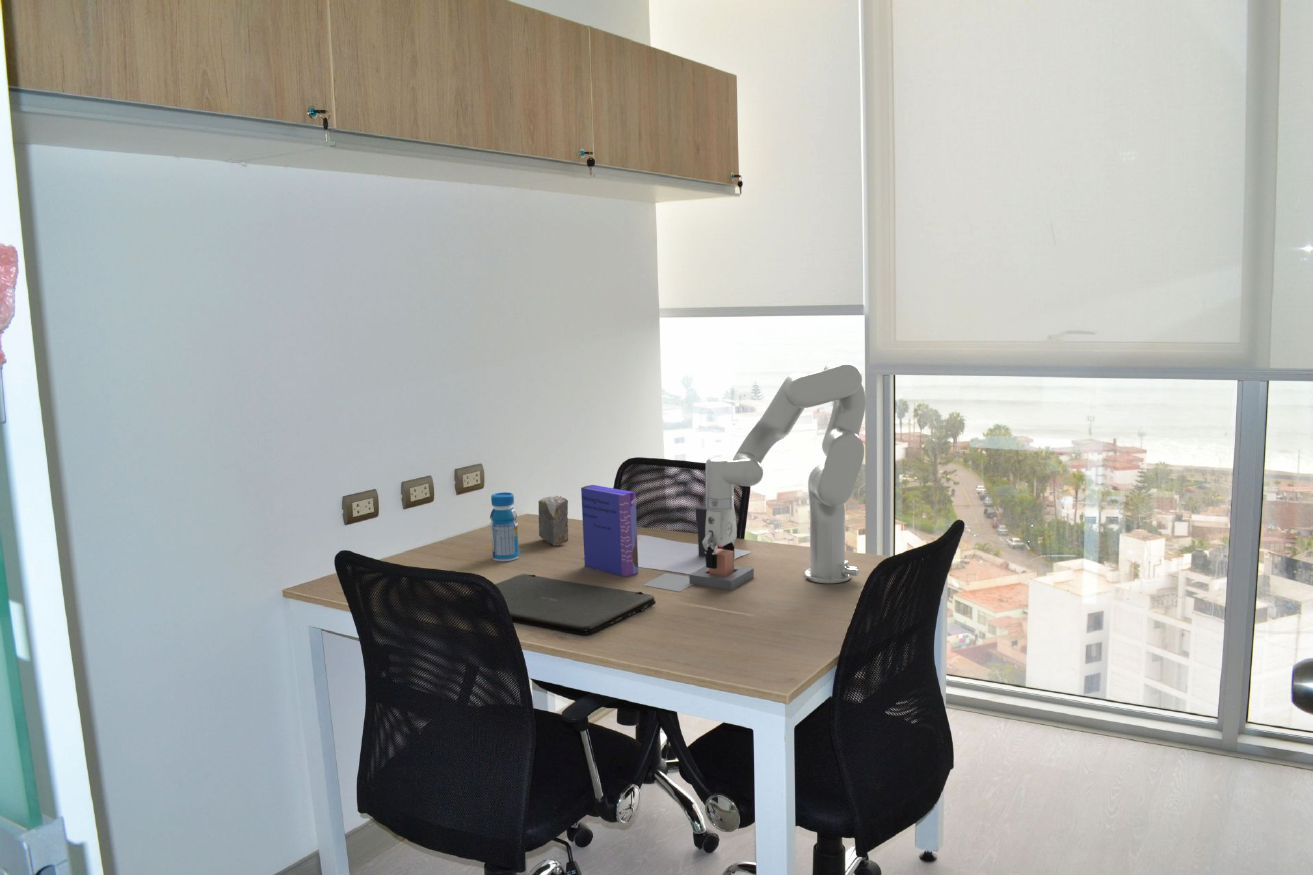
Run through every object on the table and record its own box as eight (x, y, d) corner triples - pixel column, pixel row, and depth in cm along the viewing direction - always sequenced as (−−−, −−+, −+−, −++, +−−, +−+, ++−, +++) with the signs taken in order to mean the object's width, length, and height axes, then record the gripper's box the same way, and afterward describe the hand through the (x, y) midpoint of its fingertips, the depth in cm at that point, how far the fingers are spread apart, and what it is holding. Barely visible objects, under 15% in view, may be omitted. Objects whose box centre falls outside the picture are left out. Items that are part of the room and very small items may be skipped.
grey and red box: (708, 558, 291) (707, 509, 289) (696, 556, 294) (695, 508, 291) (728, 549, 300) (727, 502, 297) (716, 547, 302) (715, 500, 300)
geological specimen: (538, 540, 318) (536, 495, 315) (555, 537, 321) (553, 492, 319) (553, 547, 309) (551, 501, 306) (570, 544, 312) (568, 498, 310)
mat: (702, 581, 270) (702, 579, 270) (679, 593, 260) (679, 591, 260) (666, 575, 277) (666, 573, 277) (642, 587, 267) (642, 584, 267)
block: (734, 578, 270) (733, 550, 268) (725, 583, 266) (724, 555, 264) (718, 576, 273) (717, 548, 271) (709, 581, 268) (708, 553, 267)
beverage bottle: (501, 563, 293) (497, 499, 290) (486, 558, 299) (482, 494, 296) (525, 557, 298) (521, 494, 295) (510, 552, 305) (506, 490, 301)
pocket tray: (753, 578, 271) (753, 568, 271) (731, 592, 260) (731, 581, 260) (713, 572, 278) (712, 561, 278) (689, 584, 267) (689, 574, 267)
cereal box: (638, 573, 279) (635, 491, 275) (626, 577, 276) (623, 494, 272) (596, 562, 291) (592, 484, 287) (584, 566, 288) (581, 487, 284)
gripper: (716, 511, 256) (716, 573, 259) (746, 497, 271) (747, 557, 273) (691, 507, 260) (692, 569, 263) (723, 495, 275) (723, 553, 277)
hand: (720, 563), depth 268 cm, fingers open, 9 cm apart
